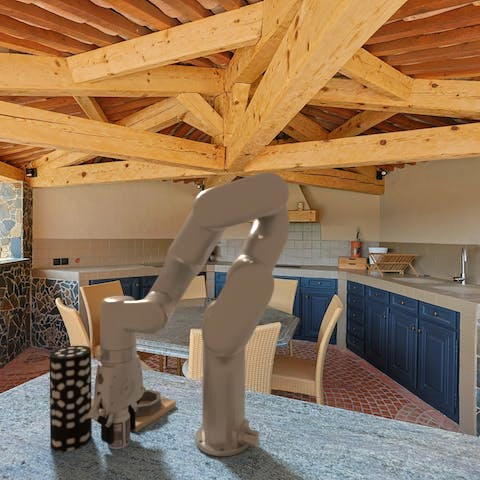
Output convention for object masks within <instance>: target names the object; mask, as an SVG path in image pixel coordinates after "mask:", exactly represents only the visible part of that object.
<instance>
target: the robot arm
mask: <svg viewBox="0 0 480 480" xmlns="http://www.w3.org/2000/svg"><path fill="white" fill-rule="evenodd" d="M289 197H290V190H289V186H288V183H287V182H286V180H285V179H284V178H283V177H282V176H281V175H280V174H277V173H276V172H272V171H263V172H259V173H256V174H253V175H248V176H246V177H242V178H240V179H235V180H233V181H230V182H227V183H223V184H220V185H216V186H211V187H209V188H206V189H204V190H202V191H201V192H199V193H198V194H197V196H196V197H195V198H194V201H193V203H192V209H191V211H189V214H188V216H187V218H186V219H185V221H184V223H183V224H182V226H181V228H180V230H179V231H178V233H177V235H176V236H175V238H174V240H172V242H171V245H170V246H169V249H168V251H167V253H166V258H165V262H164V264H163V267H162V269H161V271H160V273H159V274H158V277H157V278H156V280H155V281H154V283H153V285H152V286H151V288H150V290H149V292H148V294H146V296H145V297H144V298H142V299H139V300H135V298H134V297H133V296H129V295H114V296H109V297H105V298H104V299H102V300H101V302H100V303H99V305H100V306H99V340H100V341H99V347H100V349H99V354H98V355H96V360H97V362H98V365H97V367H96V368H97V369H96V374H95V381H94V396H93V397H94V401H95V402H94V404H93V406H92V408H91V409H90V411H89V413H88V415H87V416H88V418H91V419H92V421H94V422H95V423H96V422H97V423H98V424H99V425H100V439H101V441H102V442H104V443H106V444H107V445H108V444H112V443H113V442H114V425H112V424H111V423H112V418H113V414H114V413H116V412H118V411H120V410H122V409H123V408H125V407H127V406H128V412H129V413H130V431H132V430H135V428H136V414H135V411H137V410H138V404H139V402H140V400H141V397H142V396H143V394H144V392H145V390H147V389H146V387H145V386H144V378H143V377H144V376H143V368H142V363H141V359H140V358H141V357H140V355H139V354H137V333H138V334H144V335H156V334H158V333H161V332H163V330H165V328H166V327H167V326H168V324H169V322H170V320H171V318H172V316H173V315H174V314H173V313H175V310H176V309H177V307H178V305H179V304H180V302H181V300H182V298H183V296H184V295H185V293H186V292H187V290H188V288H189V286H190V284H191V283H192V282H193V280H194V279H195V278H196V277H197V276H198V275H199V274H200V273H201V272H202V270H203V268H204V267H205V265H206V263H207V262H208V260H209V258H210V256H211V254H212V252H213V251H214V250H215V247H216V245H217V244H218V243H219V241H220V239H221V237H222V236H223V234H224V232H225V230H226V229H227V228H230V227H234V226H237V225H241V224H243V223H247V222H248V223H249V222H251V221H252V224H251V227H250V229H249V232H248V233H247V234H248V235H247V236H246V238H245V240H244V242H243V244H242V246H241V248H240V250H239V252H238V253H237V256H236V257H235V258H234V261H233V262H232V263H231V265H230V266H229V268H228V269H227V272H226V277H225V278H226V279H225V283H223V284H224V285H223V286H222V288H221V291H220V292H219V294H218V296H217V298H216V299H215V300H214V301H212V302H211V303H210V304H209V305H207V307H206V309H205V310H204V312H203V316H202V322H201V339H202V372H203V389H202V388H201V392H202V393H201V395H202V396H201V397H202V406H201V407H202V408H201V409H202V413H201V414H202V415H201V416H202V424H201V426H200V427H199V428H198V429H197V431H196V433H195V437H194V439H195V440H194V441H195V444H196V446H197V448H198V449H199V450H200V451H202V452H203V453H205V454H207V455H211V456H214V457H215V456H216V457H231V456H234V455H237V454H241V453H242V452H244V451H245V450H247V449H248V448H249V447H250V446H251V447H254V448H258V447H259V444H260V440H261V439H260V431H258V430H255V429H251V428H250V420H249V419H247V418H246V346H247V345H248V343H249V341H250V340H251V338H252V336H253V334H254V332H255V330H256V329H257V327H258V325H259V323H260V320H261V319H262V317H263V316H264V314H265V312H266V310H267V308H268V306H269V304H270V301H271V299H272V297H273V294H274V290H275V278H274V276H273V271H274V269H275V267H276V265H277V264H278V261H279V259H280V257H281V254H282V253H283V251H284V248H285V246H286V244H287V242H288V241H287V240H288V238H289V234H290V227H291V225H290V223H291V222H290V215H289V210H288V207H287V203H288V200H289ZM100 409H101V411H100V415H99V414H98V412H99V410H100ZM106 413H108V414H107V418H105V416H106Z"/></svg>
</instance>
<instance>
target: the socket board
mask: <svg viewBox="0 0 480 480" xmlns="http://www.w3.org/2000/svg"><path fill="white" fill-rule="evenodd" d="M176 401H177V400H173V399H170V398H167V397H164V396H162V395H161V392H159V391H157V390H154V389H146V390H145V392H144V394H143V396H142V397H141V400H140V402H139V404H138V410H137V411H135V414H136V428H135V430H131V431H132V432H134V433H137V432H139V431H140V430H142V429H143V428H145V427H147V426H148V425H150V424H151V423H153V422H154V421H156V420H157V419H159V418H161V417H163V416H164V415H165V414H167V413H168V412H170V411H172V410H173V409H174V408H176V407H177V402H176ZM94 402H95V401H94V398H93V397H92V398H91V408H92V406H93V404H94ZM100 411H101V409H100V410H99V412H98V414H99V415H100ZM107 414H108V413H106V416H105V418H107Z"/></svg>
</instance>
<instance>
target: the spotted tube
mask: <svg viewBox="0 0 480 480" xmlns="http://www.w3.org/2000/svg"><path fill="white" fill-rule="evenodd" d="M91 399H92V348H91V347H90V346H88V345H87V346H86V345H69V346H65V347H59V348H56V349H55V350H52V351H51V352H50V353H49V415H50V416H49V417H50V418H49V419H50V420H49V421H50V422H49V423H50V425H49V430H50V431H49V437H50V448H51V449H52V450H53V451H56V452H61V453H64V452H72V451H75V450H78V449H80V448H82V447H84V446H86V445H87V444H88V443H89V442H90V441H91V440H92V437H93V435H92V433H93V429H92V425H93V424H92V421H93V419H91V418H88V416H87V415H88V413H89V411H90V409H91Z"/></svg>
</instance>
